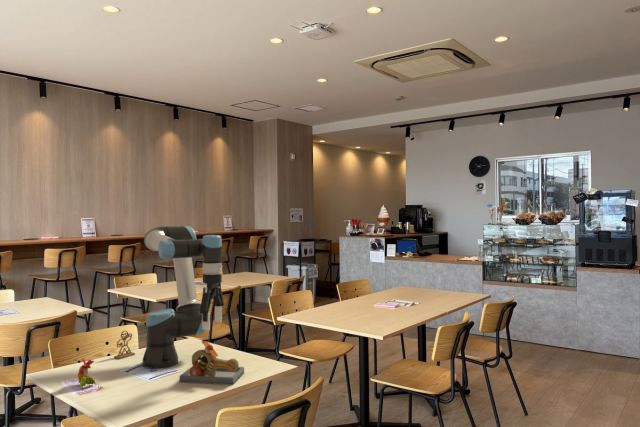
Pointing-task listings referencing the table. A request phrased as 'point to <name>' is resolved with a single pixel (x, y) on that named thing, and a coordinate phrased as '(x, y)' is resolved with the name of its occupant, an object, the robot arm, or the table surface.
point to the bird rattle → (85, 374)
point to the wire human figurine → (124, 346)
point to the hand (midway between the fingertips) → (212, 325)
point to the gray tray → (213, 377)
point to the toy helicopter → (210, 362)
